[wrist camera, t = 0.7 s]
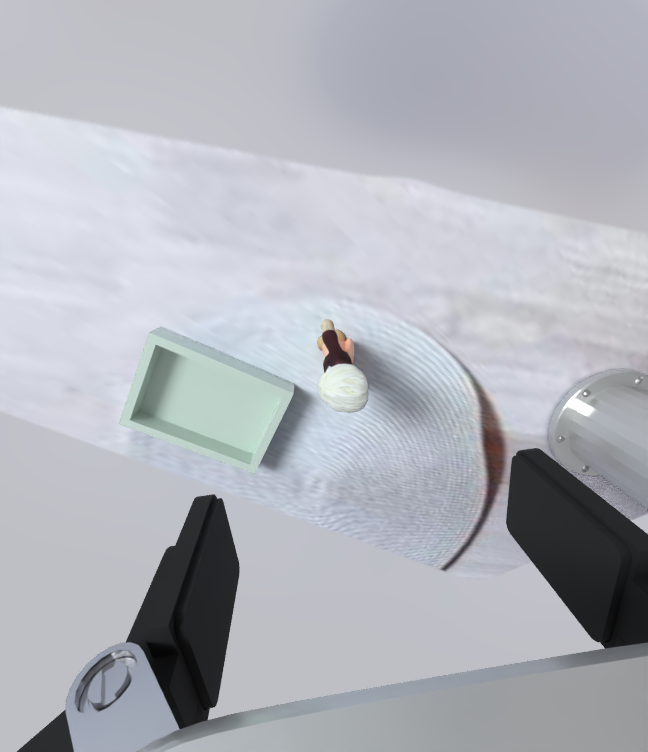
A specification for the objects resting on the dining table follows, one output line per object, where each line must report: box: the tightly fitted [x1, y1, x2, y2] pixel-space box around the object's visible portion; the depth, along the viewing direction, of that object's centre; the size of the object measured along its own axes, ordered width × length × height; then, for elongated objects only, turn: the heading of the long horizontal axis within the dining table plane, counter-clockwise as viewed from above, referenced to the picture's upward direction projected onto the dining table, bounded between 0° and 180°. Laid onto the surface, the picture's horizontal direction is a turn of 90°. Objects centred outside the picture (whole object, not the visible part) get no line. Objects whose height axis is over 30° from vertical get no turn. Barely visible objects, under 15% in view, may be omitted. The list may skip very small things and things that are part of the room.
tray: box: [119, 327, 294, 474], centre depth 33 cm, size 14×10×3 cm
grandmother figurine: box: [317, 319, 368, 413], centre depth 28 cm, size 8×4×13 cm, turn 24°
